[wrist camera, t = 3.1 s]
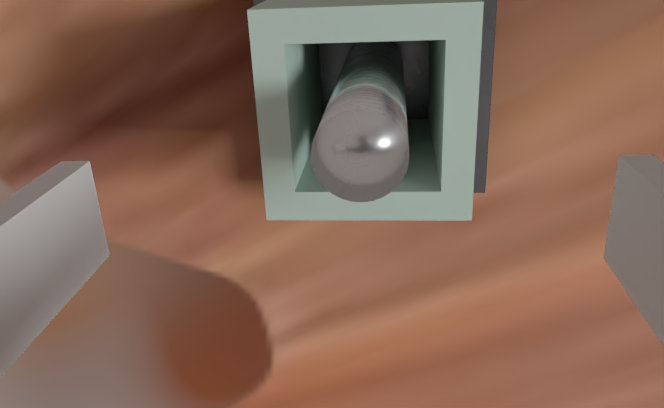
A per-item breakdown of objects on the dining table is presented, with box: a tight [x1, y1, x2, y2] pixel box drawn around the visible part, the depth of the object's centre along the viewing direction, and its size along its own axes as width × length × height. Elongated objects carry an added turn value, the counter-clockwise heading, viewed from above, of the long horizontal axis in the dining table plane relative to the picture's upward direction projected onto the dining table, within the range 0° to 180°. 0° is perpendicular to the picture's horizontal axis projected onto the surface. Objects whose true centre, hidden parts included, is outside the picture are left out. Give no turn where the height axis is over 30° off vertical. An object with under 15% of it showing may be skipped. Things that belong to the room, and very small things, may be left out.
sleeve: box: [247, 0, 484, 220], centre depth 27 cm, size 8×8×10 cm
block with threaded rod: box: [253, 0, 497, 202], centre depth 26 cm, size 14×12×16 cm
